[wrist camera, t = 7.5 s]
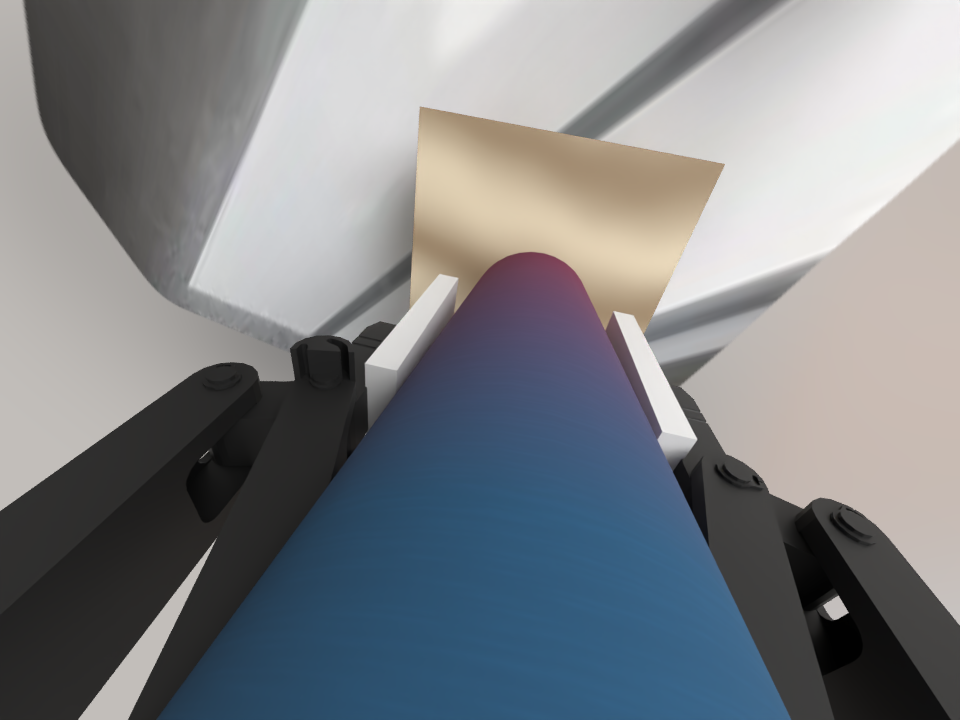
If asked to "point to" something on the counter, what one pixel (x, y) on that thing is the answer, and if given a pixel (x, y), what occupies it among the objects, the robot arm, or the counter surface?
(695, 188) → the beige streaked flat-top fixture
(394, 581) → the cup
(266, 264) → the counter surface
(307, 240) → the counter surface
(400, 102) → the counter surface
